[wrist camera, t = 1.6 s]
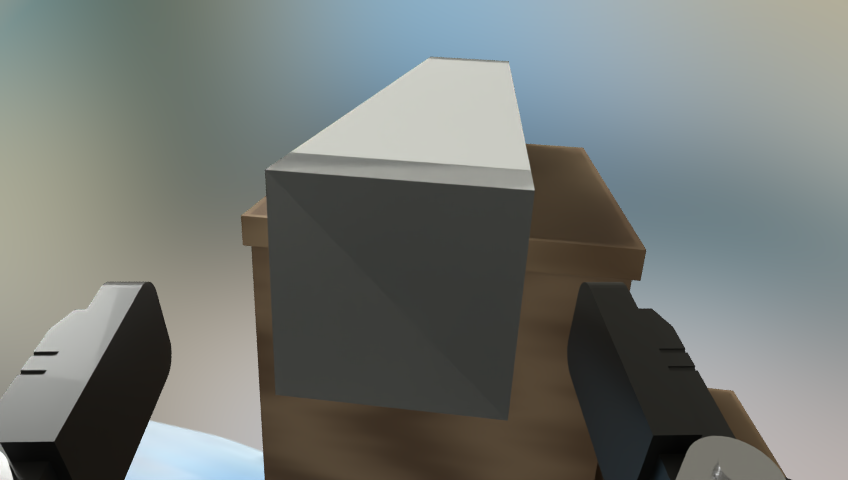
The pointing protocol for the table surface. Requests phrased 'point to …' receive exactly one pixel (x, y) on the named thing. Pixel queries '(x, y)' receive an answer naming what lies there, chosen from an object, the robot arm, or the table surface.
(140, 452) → the table surface
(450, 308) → the bar
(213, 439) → the table surface
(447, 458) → the wooden plank crate
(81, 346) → the robot arm
